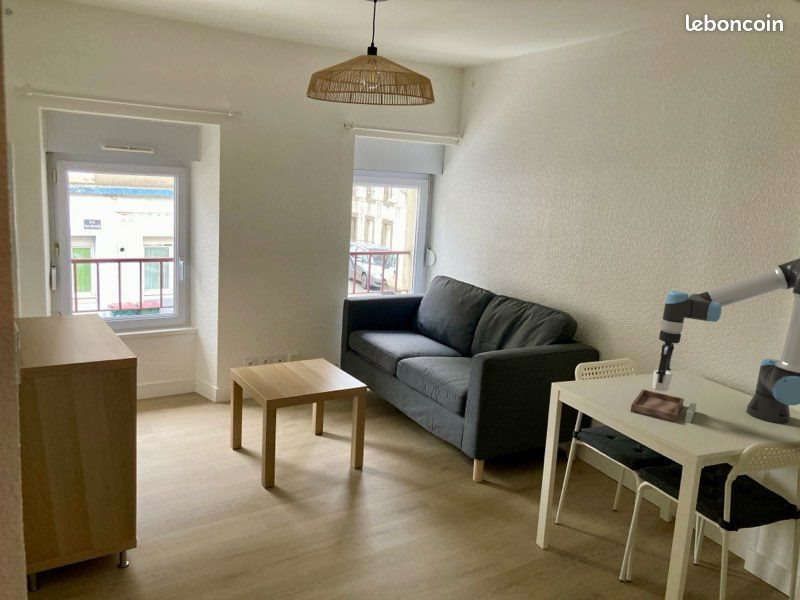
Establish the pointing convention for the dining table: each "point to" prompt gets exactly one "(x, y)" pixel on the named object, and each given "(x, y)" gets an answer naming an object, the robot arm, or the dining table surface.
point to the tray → (657, 405)
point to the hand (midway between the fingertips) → (660, 388)
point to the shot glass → (667, 379)
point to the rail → (690, 411)
